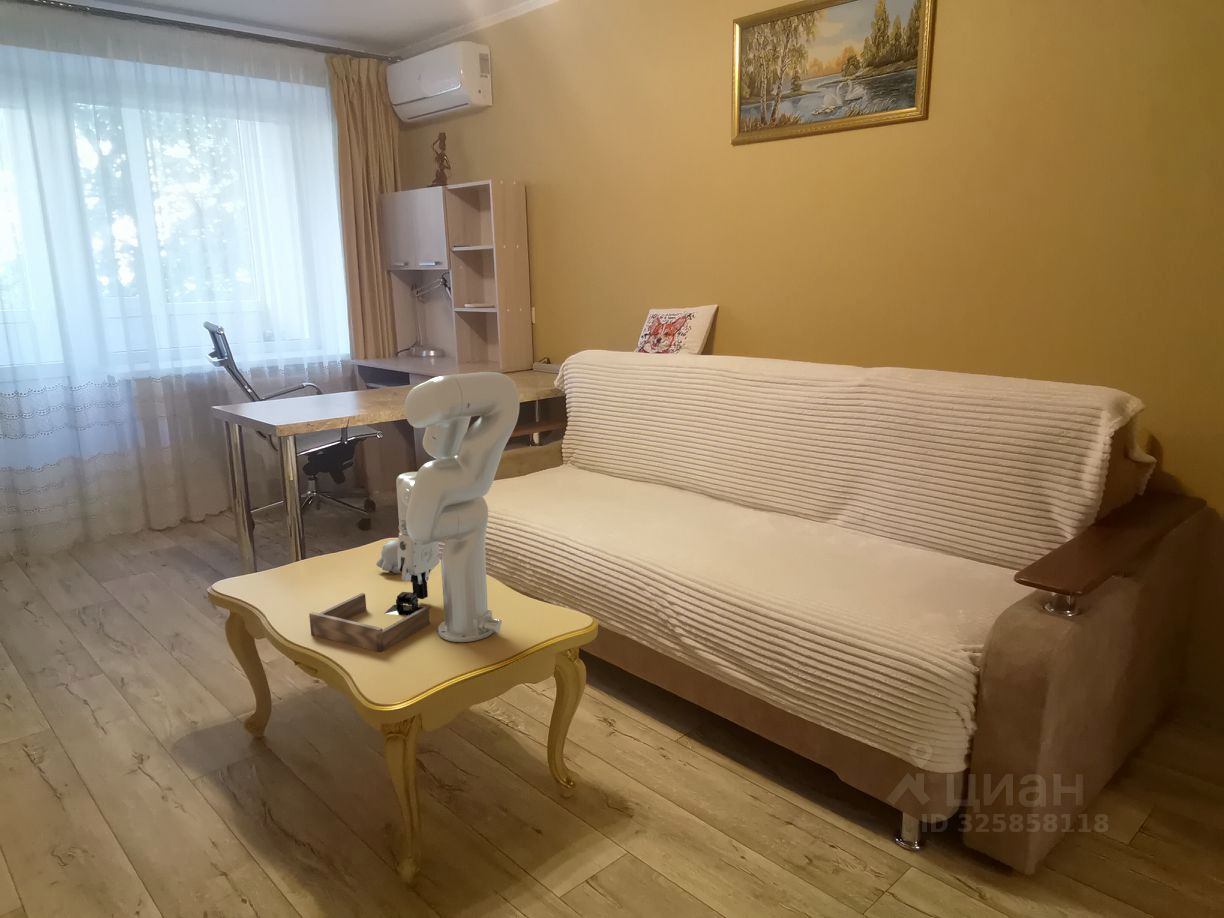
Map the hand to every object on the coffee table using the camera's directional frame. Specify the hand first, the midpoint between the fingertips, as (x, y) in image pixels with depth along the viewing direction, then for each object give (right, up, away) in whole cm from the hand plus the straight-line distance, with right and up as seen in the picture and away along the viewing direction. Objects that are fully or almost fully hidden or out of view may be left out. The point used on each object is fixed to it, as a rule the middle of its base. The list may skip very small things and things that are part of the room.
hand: (420, 597), depth 194 cm
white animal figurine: (-11, +3, +23) cm, 26 cm away
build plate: (-2, -3, -4) cm, 5 cm away
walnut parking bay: (-7, -5, -14) cm, 16 cm away
